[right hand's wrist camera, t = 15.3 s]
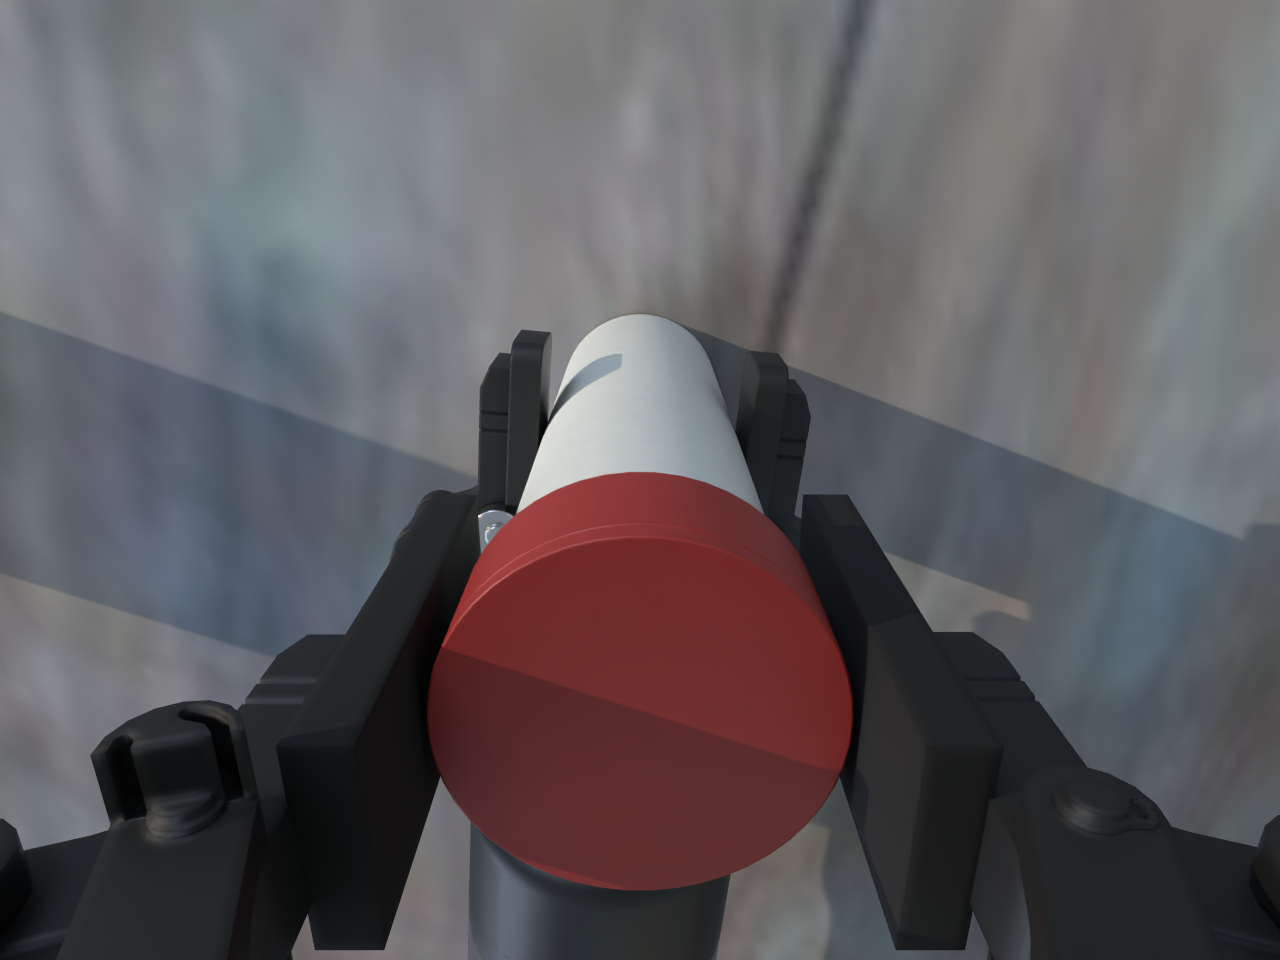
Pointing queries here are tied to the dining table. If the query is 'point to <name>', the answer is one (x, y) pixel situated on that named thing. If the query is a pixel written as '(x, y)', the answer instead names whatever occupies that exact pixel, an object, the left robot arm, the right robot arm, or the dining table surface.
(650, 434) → the white cylinder
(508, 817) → the lid
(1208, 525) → the dining table surface
